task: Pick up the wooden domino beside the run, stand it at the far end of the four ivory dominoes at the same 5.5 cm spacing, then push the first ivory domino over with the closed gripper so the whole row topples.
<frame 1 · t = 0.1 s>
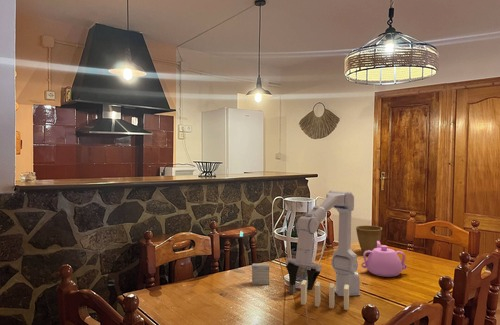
hand: (301, 287, 131), 11 cm above the table, tool pointing down, fingers open, 7 cm apart
domino 1: (346, 307, 139), on the table
domino 3: (317, 303, 142), on the table
domino 4: (303, 302, 144), on the table
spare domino: (292, 292, 155), on the table
medicine box: (260, 283, 166), on the table
domino 2: (331, 305, 141), on the table
plant pot: (368, 254, 216), on the table
teapot: (382, 272, 183), on the table
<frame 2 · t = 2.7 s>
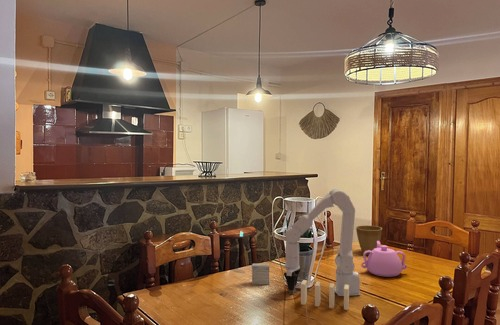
hand: (292, 287, 155), 2 cm above the table, tool pointing down, fingers closed on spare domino, 5 cm apart
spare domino: (292, 292, 155), on the table, touching gripper
everything else where it was.
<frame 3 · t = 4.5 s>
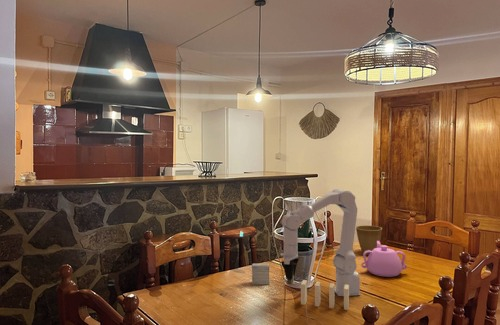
hand: (290, 277, 147), 9 cm above the table, tool pointing down, fingers closed on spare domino, 5 cm apart
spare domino: (290, 282, 147), point 7 cm above the table, touching gripper
everything else where it was.
when the fingers open (3 cm above the table, at t = 6.6 s): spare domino drops 1 cm, on the table.
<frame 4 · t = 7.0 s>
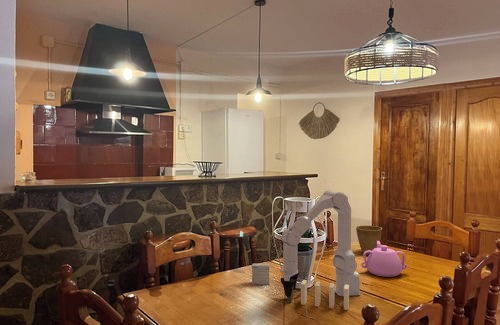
hand: (290, 293, 146), 3 cm above the table, tool pointing down, fingers open, 7 cm apart
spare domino: (290, 300, 146), on the table
everything else where it was.
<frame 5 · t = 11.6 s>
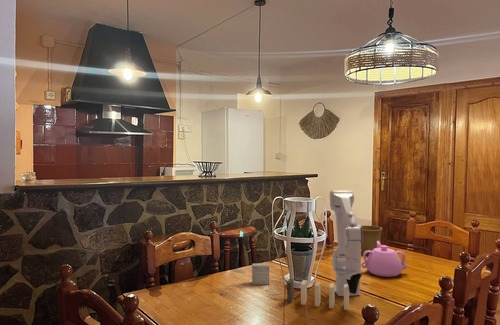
hand: (353, 292, 138), 6 cm above the table, tool pointing down, fingers closed
domino 1: (346, 307, 139), on the table, touching gripper
everything else where it was.
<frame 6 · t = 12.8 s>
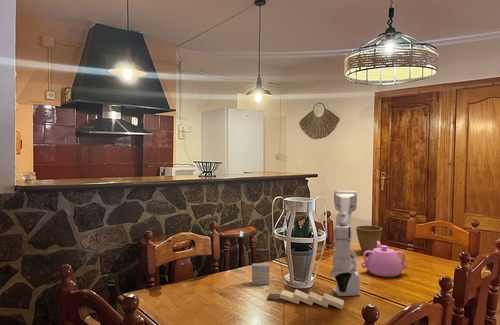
hand: (342, 291, 139), 6 cm above the table, tool pointing down, fingers closed
domino 1: (342, 304, 140), point 1 cm above the table, tilted 73°, touching domino 2
domino 3: (313, 301, 143), point 1 cm above the table, tilted 72°, touching domino 2, domino 4
domino 4: (300, 299, 145), point 1 cm above the table, tilted 79°, touching domino 3, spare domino
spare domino: (287, 299, 146), on the table, tilted 90°, touching domino 4
domino 2: (328, 303, 141), point 1 cm above the table, tilted 73°, touching domino 1, domino 3
everything else where it was.
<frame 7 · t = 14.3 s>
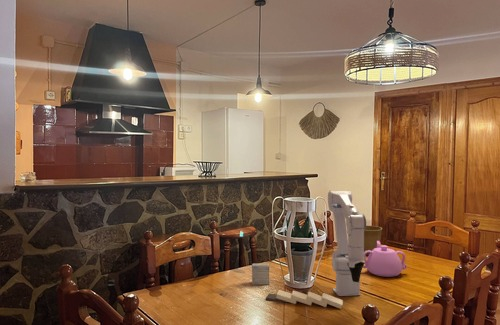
hand: (355, 281, 138), 10 cm above the table, tool pointing down, fingers closed
domino 4: (296, 299, 144), point 1 cm above the table, tilted 78°, touching domino 3, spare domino
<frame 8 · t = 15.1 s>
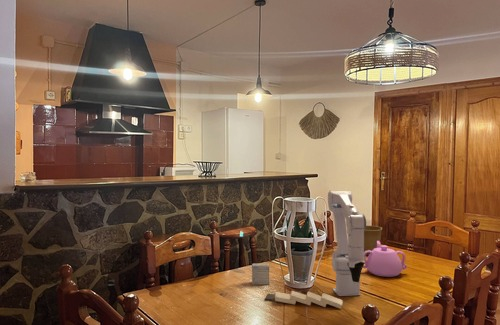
hand: (355, 281, 138), 10 cm above the table, tool pointing down, fingers closed
domino 3: (310, 301, 143), point 1 cm above the table, tilted 74°, touching domino 2
domino 4: (295, 299, 144), point 1 cm above the table, tilted 80°, touching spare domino
at the end: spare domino tilted 90°; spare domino 1.2 cm from the target spot, on the table; domino 1 tilted 74° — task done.
